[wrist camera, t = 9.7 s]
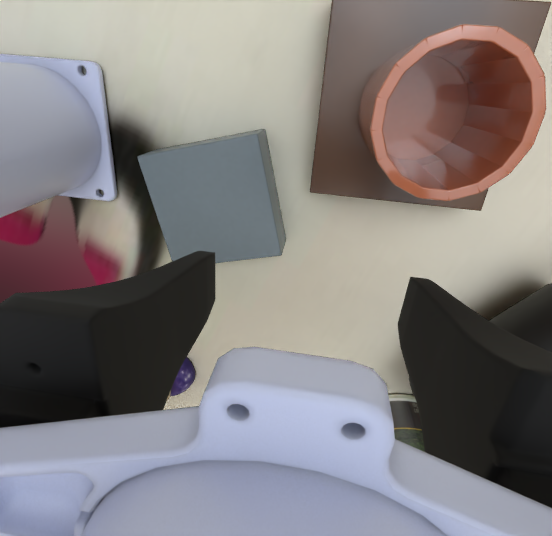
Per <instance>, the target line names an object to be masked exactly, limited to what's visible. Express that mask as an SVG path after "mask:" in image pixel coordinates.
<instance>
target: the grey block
mask: <svg viewBox="0 0 552 536" xmlns="http://www.w3.org/2000/svg"><path fill="white" fill-rule="evenodd" d="M138 161H139V164H140V167H141V170H142V173H143V176H144V179H145V182H146V185H147V188H148V191H149V194H150V197H151V200H152V203H153V206H154V209H155V212H156V214H157V217H158V220H159V223H160V226H161V229H162V232H163V235H164V238H165V241H166V244H167V247H168V250H169V253H170V256H171V259H172V262H173V261H175V260H177V259H179V258H182V257H184V256H186V255H188V254H191V253H193V252H196V251H207V252H215V263H221V262H230V261H238V260H246V259H255V258H263V257H272V256H280V255H282V251H283V248H284V245H285V241H286V237H285V232H284V226H283V221H282V216H281V210H280V205H279V200H278V194H277V189H276V184H275V179H274V173H273V168H272V163H271V157H270V152H269V147H268V141H267V136H266V131H265V129H261V130H255V131H250V132H245V133H240V134H235V135H229V136H224V137H219V138H214V139H209V140H203V141H198V142H193V143H188V144H182V145H177V146H172V147H167V148H162V149H156V150H153V151H151V152H148V153H145V154H142V155H140V156H138Z"/></svg>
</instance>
